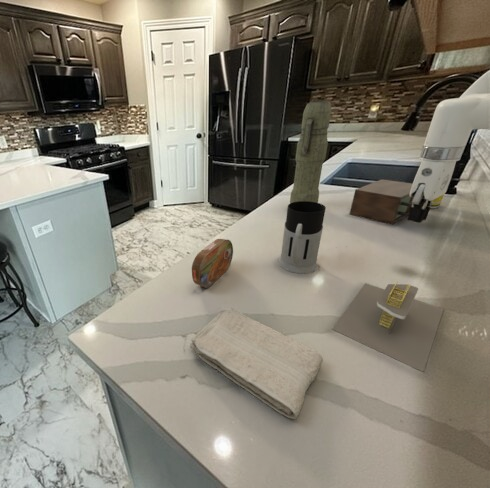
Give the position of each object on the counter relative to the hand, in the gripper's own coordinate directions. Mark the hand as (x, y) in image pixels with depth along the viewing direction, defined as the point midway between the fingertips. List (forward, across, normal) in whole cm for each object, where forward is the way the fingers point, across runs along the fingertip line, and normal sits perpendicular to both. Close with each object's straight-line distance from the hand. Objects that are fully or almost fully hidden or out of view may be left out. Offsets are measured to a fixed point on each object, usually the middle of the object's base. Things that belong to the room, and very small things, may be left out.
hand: (416, 219), depth 74 cm
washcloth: (+2, -71, -6) cm, 71 cm away
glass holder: (+2, -44, +6) cm, 44 cm away
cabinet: (+2, +5, +10) cm, 12 cm away
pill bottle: (+2, +20, +4) cm, 21 cm away
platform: (+2, -45, -14) cm, 47 cm away
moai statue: (+2, -9, +29) cm, 31 cm away
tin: (+2, -61, +16) cm, 63 cm away
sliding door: (+1, +2, +2) cm, 3 cm away
